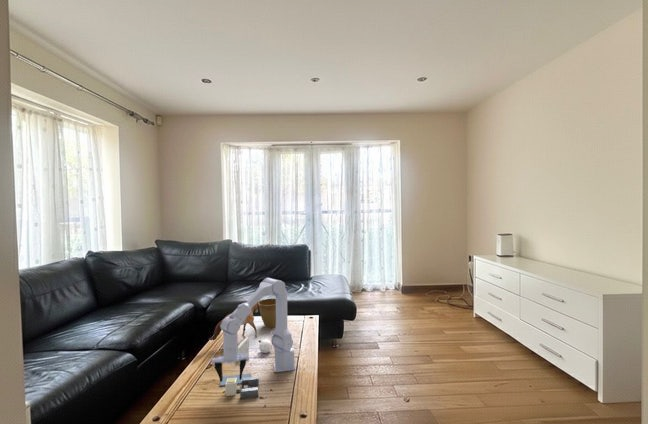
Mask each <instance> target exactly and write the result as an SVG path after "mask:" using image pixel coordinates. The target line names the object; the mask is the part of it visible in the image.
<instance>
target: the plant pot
mask: <svg viewBox="0 0 648 424" xmlns="http://www.w3.org/2000/svg"><path fill="white" fill-rule="evenodd" d="M258 305H259V306H258V309H259V310H258V311H259V313H260V318H261V320H262V323H263V325H264V327H265V328H267V329H268V328H270V329H271V328H276V297H275V298H274V297H273V298H272V297H271V298H264V299H261V300H260V301H259V302H258Z"/></svg>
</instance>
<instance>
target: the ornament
mask: <svg viewBox="0 0 648 424" xmlns="http://www.w3.org/2000/svg"><path fill="white" fill-rule="evenodd" d="M258 345H259V346H258V349H259V351H260V352H261V353H263V354H267V353H269V352H270V351H271V350H272V346H273V345H272V343H271V340H269V339H266V338H265V339H263V340H260V342H259V344H258Z"/></svg>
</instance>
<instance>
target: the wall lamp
mask: <svg viewBox="0 0 648 424" xmlns="http://www.w3.org/2000/svg"><path fill="white" fill-rule="evenodd" d="M245 388H249V387H248V385H244V388H240V389H238V385H237V378H227V381H226V386H225V396H226V397H227V396H236V395H237V393H240V390H241V389H245Z"/></svg>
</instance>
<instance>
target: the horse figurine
mask: <svg viewBox="0 0 648 424" xmlns="http://www.w3.org/2000/svg"><path fill="white" fill-rule="evenodd" d="M258 309H259V305H258V302H257V303H256V304H255V305H254V306H253V307H252V308H251V313H250V314H249V315H248V316H247V318H246V319H245V320H244V321H243V322H242V324H241V326H243V329H242V337H243V338H242V339H243V340H244V339H245V338H246V337H247V336H245V333H246V326H247V324H249V325H250V326H251V327H252V329H253V330H254V337H256V338H258V331H257V327H256V325H255V322H254V320H255V317H254V312H255V314H256V313H258V312H259V310H258ZM230 314H231V313H228V314H227V315H226V317H229V316H230ZM222 321H223V319H222V320H220V321H219V322H218V323H217V325H216V326H215V327H214V331H213V335H212V336H211V337H209V338H208V340H209V341H216V340H217V339H218V337H219V336H220V334H221V332H222V331H223V330H222V329H221V327H220V325H221V323H222Z"/></svg>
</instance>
